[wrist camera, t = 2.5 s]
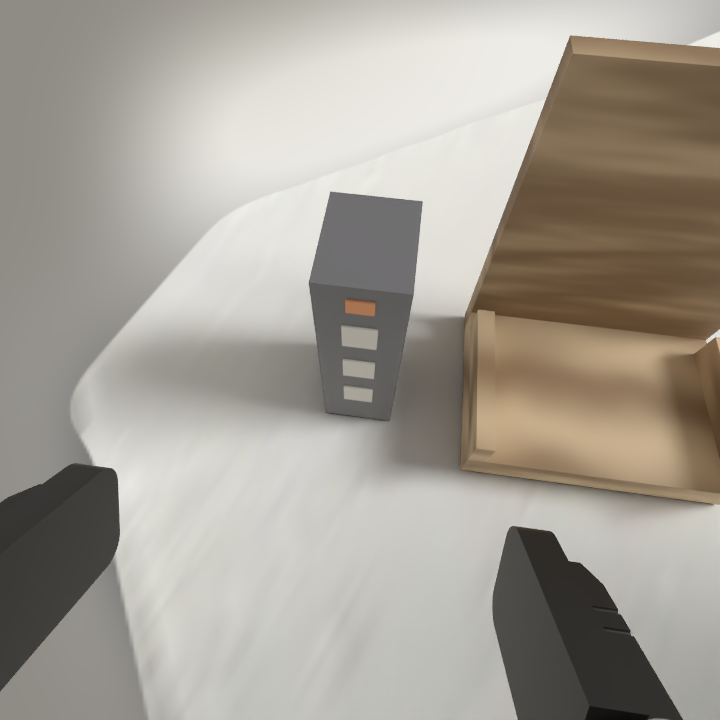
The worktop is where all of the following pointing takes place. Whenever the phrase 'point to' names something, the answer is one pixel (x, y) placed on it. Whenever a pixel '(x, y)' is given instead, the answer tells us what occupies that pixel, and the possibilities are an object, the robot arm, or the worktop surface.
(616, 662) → the robot arm
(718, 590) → the worktop surface
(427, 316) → the worktop surface
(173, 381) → the worktop surface
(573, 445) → the wooden angled stand
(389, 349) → the power strip
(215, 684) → the worktop surface
